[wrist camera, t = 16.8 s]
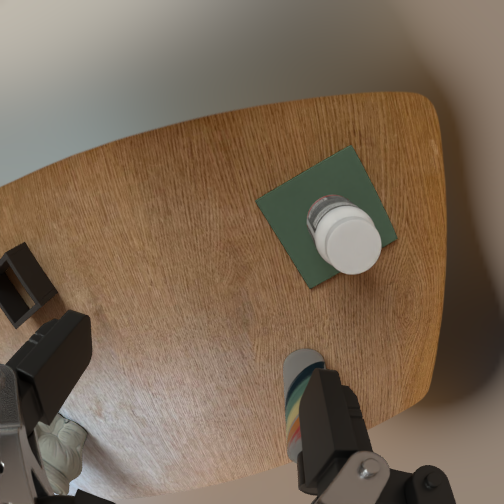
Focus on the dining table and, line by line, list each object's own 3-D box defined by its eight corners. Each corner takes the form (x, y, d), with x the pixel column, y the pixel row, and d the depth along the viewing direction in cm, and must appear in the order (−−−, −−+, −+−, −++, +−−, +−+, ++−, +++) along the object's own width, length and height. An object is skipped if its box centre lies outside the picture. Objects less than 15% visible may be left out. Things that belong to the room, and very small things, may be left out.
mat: (255, 200, 35) (255, 201, 34) (350, 144, 32) (351, 145, 31) (309, 287, 38) (309, 289, 37) (396, 237, 35) (398, 238, 35)
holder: (0, 270, 39) (-17, 281, 35) (24, 241, 38) (5, 252, 33) (31, 315, 42) (15, 329, 38) (58, 292, 40) (41, 306, 36)
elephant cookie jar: (16, 393, 50) (-27, 449, 32) (54, 389, 47) (6, 458, 29) (60, 444, 54) (29, 501, 37) (102, 445, 52) (72, 514, 34)
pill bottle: (356, 242, 35) (385, 278, 26) (307, 246, 35) (321, 284, 26) (356, 192, 33) (388, 212, 24) (304, 195, 34) (319, 216, 24)
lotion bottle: (331, 367, 42) (358, 490, 23) (295, 384, 43) (305, 507, 24) (312, 340, 40) (335, 470, 21) (274, 359, 41) (276, 489, 23)
